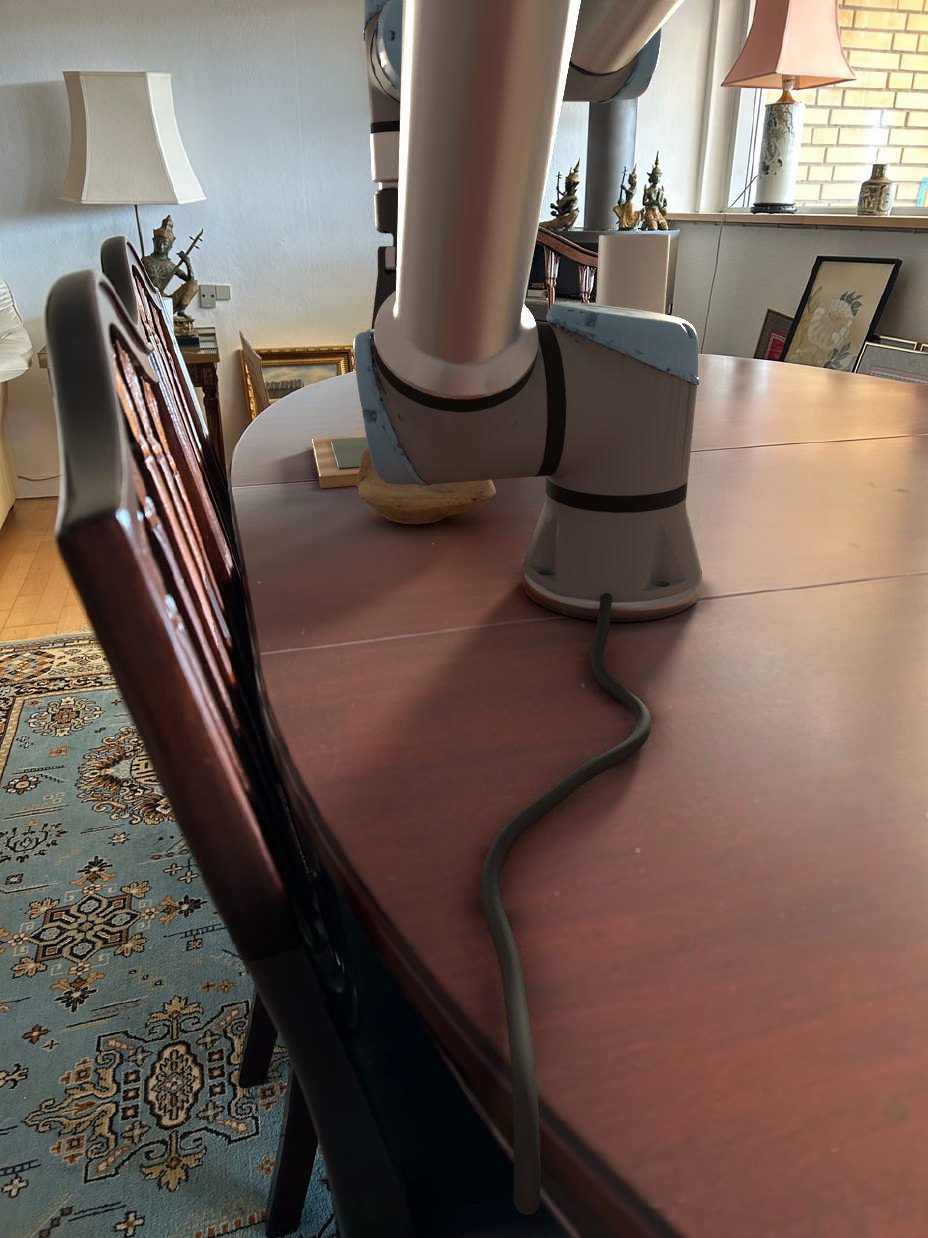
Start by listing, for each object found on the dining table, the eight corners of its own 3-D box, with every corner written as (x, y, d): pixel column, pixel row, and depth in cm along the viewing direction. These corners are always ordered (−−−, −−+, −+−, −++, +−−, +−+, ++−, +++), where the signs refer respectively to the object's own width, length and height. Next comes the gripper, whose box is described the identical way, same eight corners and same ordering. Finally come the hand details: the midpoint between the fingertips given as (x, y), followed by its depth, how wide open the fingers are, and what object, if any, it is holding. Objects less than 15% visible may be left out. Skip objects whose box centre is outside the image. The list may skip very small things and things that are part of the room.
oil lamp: (494, 535, 91) (494, 458, 87) (348, 534, 92) (342, 458, 88) (498, 502, 101) (497, 432, 97) (366, 502, 102) (361, 432, 98)
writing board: (451, 478, 110) (451, 465, 109) (320, 488, 107) (319, 474, 106) (425, 440, 128) (424, 429, 127) (312, 448, 125) (311, 436, 124)
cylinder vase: (582, 375, 173) (587, 235, 163) (640, 370, 177) (649, 233, 166) (611, 386, 162) (618, 237, 152) (672, 381, 166) (683, 234, 155)
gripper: (403, 184, 71) (414, 447, 80) (489, 186, 92) (490, 393, 101) (317, 186, 73) (338, 443, 82) (421, 187, 94) (428, 390, 103)
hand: (422, 416), depth 92 cm, fingers open, 13 cm apart
